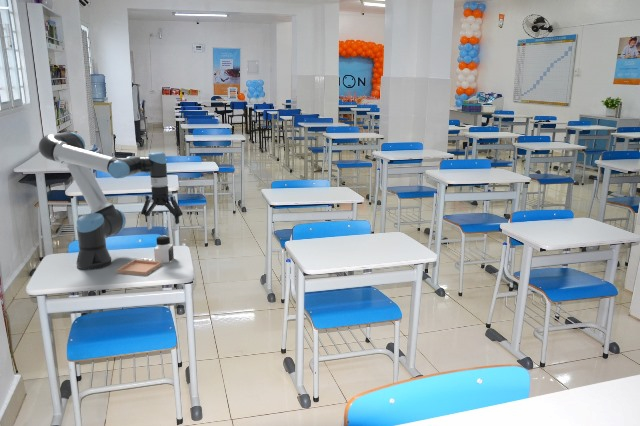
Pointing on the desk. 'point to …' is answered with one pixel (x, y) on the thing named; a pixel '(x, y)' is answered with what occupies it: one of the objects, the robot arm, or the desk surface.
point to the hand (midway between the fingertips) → (163, 229)
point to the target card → (146, 259)
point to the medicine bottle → (163, 250)
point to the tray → (139, 267)
